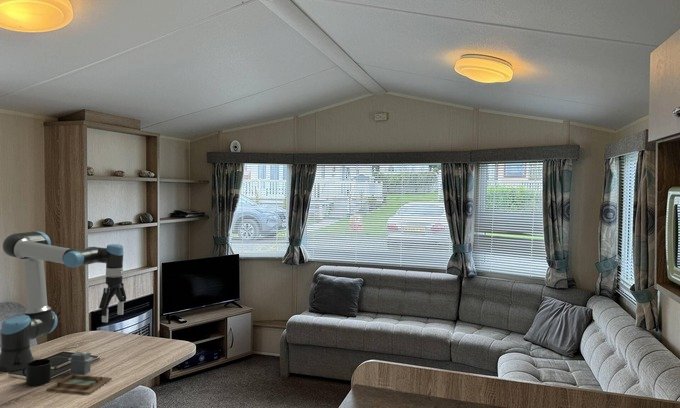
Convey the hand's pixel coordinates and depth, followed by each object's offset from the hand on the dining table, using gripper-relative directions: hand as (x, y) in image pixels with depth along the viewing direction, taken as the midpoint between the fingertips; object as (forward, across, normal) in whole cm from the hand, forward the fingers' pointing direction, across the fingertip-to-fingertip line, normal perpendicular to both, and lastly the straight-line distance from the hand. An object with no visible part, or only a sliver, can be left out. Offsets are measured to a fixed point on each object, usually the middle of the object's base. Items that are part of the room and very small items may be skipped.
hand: (112, 318), depth 235 cm
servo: (+24, -10, +10) cm, 28 cm away
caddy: (+24, -23, +1) cm, 33 cm away
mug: (+25, -24, +22) cm, 40 cm away
